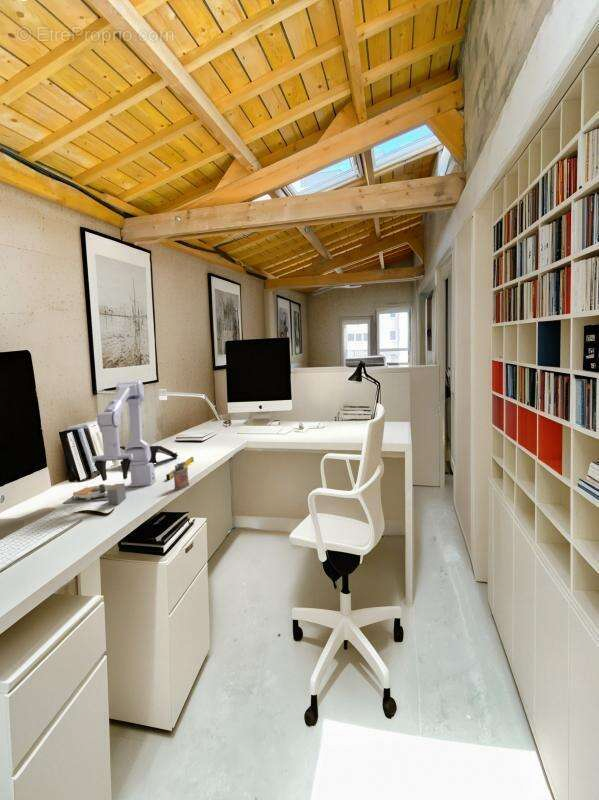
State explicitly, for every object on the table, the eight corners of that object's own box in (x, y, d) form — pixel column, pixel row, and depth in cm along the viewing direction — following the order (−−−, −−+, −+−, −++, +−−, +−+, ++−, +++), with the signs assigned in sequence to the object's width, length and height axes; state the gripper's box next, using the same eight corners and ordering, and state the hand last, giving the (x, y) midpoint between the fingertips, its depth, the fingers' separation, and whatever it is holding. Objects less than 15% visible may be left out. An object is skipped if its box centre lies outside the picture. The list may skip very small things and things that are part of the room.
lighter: (179, 490, 182) (177, 465, 181) (172, 490, 183) (170, 465, 182) (191, 484, 190) (189, 461, 189) (184, 484, 191) (182, 460, 190)
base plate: (126, 486, 193) (126, 485, 193) (110, 500, 175) (109, 499, 175) (83, 489, 193) (83, 488, 192) (62, 503, 175) (62, 502, 175)
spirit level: (191, 462, 232) (190, 456, 231) (193, 462, 232) (193, 456, 231) (166, 481, 199) (166, 474, 198) (169, 481, 198) (169, 474, 198)
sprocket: (105, 485, 196) (104, 475, 195) (126, 490, 185) (125, 480, 184) (64, 496, 183) (63, 485, 182) (85, 502, 172) (84, 491, 171)
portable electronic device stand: (180, 469, 243) (182, 452, 246) (158, 459, 222) (160, 441, 225) (141, 469, 248) (144, 453, 252) (116, 460, 227) (119, 442, 231)
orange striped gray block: (126, 498, 176) (124, 483, 175) (118, 505, 168) (116, 489, 168) (116, 499, 176) (115, 483, 175) (108, 506, 168) (107, 490, 167)
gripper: (86, 447, 166) (91, 483, 167) (127, 444, 166) (130, 480, 167) (95, 443, 173) (99, 478, 174) (133, 440, 173) (137, 475, 174)
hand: (115, 479), depth 171 cm, fingers open, 7 cm apart
